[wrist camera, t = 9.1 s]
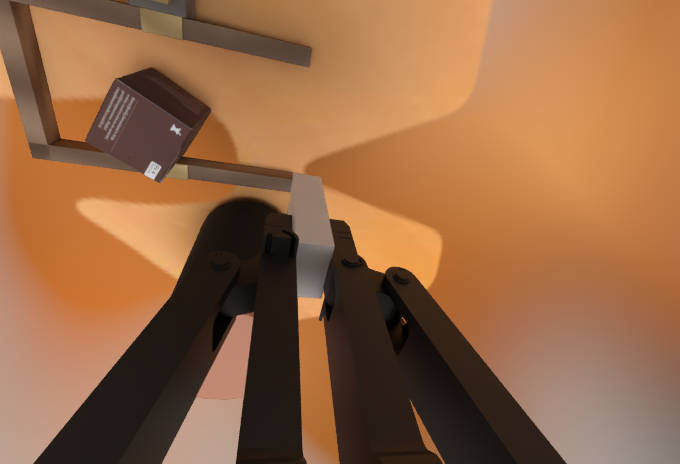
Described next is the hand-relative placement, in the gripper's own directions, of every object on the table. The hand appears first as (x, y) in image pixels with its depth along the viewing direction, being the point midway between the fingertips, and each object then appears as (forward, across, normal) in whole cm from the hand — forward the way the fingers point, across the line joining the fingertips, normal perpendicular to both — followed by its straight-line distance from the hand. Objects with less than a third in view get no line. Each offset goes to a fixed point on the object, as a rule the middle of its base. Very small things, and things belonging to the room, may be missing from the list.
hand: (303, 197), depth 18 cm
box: (+18, -12, -2) cm, 22 cm away
